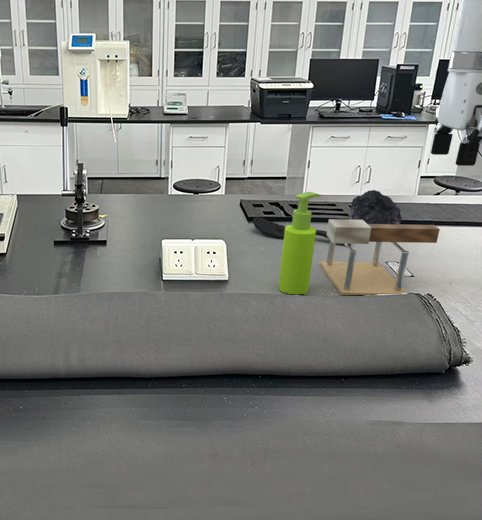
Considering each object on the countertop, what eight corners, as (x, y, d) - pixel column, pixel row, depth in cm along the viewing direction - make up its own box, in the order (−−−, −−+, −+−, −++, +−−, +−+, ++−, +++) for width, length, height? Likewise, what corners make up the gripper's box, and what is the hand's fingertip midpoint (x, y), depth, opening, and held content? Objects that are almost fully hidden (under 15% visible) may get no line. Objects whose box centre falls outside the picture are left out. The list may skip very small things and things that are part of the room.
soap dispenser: (317, 289, 109) (330, 194, 101) (295, 298, 105) (307, 200, 97) (294, 279, 113) (305, 188, 105) (272, 287, 109) (282, 193, 102)
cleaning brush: (428, 236, 111) (431, 220, 110) (439, 245, 106) (443, 228, 105) (326, 235, 112) (328, 219, 111) (333, 243, 107) (335, 227, 106)
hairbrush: (350, 239, 127) (249, 219, 138) (347, 253, 129) (247, 232, 139) (355, 229, 134) (258, 210, 144) (352, 243, 135) (256, 223, 146)
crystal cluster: (394, 240, 137) (406, 202, 133) (340, 226, 143) (350, 190, 139) (400, 229, 148) (411, 194, 144) (350, 217, 154) (359, 183, 150)
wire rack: (378, 265, 120) (385, 227, 116) (407, 297, 105) (417, 254, 102) (320, 264, 121) (325, 226, 117) (341, 296, 106) (348, 253, 102)
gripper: (525, 65, 86) (498, 170, 92) (469, 61, 102) (449, 150, 108) (477, 65, 86) (453, 169, 93) (429, 61, 102) (411, 150, 108)
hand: (451, 159), depth 100 cm, fingers open, 9 cm apart
